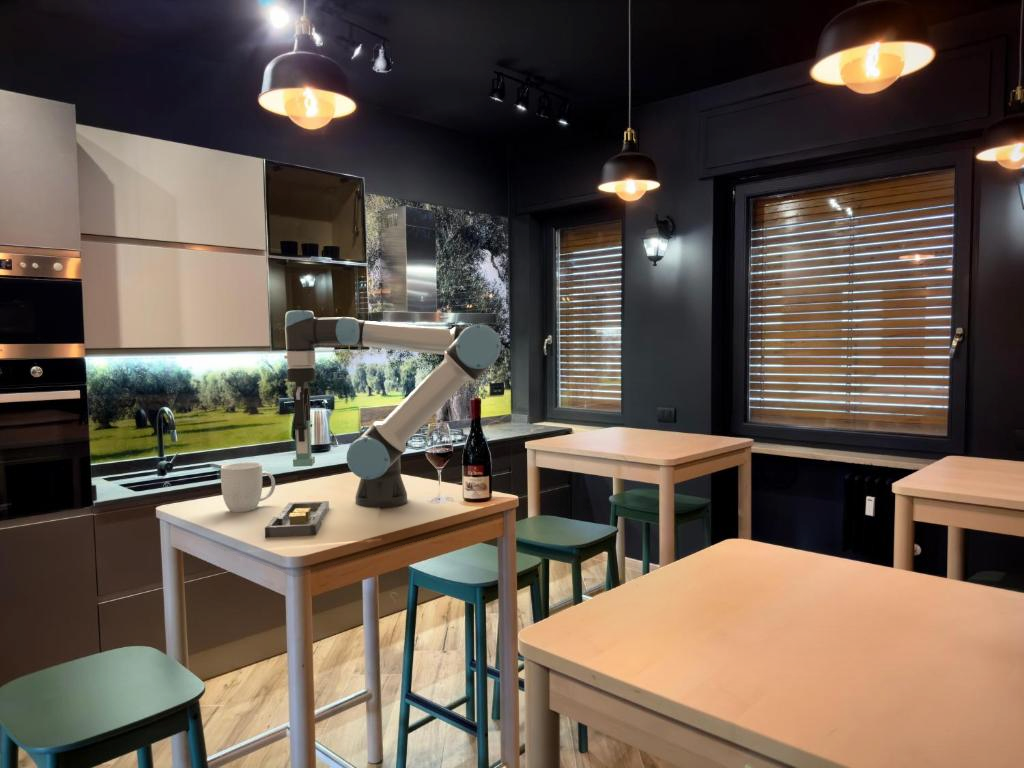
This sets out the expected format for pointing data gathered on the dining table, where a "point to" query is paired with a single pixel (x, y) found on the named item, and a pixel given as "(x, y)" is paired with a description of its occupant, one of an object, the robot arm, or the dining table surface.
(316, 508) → the dark gray shallow tray
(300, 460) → the teal t-shaped block
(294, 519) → the chip
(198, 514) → the dining table surface
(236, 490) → the mug
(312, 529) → the tray
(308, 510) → the chip
